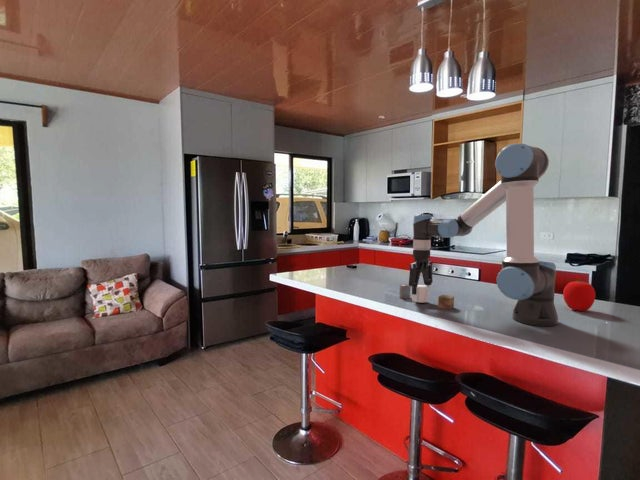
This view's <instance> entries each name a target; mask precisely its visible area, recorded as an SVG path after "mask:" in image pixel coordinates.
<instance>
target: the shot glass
mask: <svg viewBox="0 0 640 480" xmlns="http://www.w3.org/2000/svg"><path fill="white" fill-rule="evenodd" d="M417 287H419V291H418V302H417V303H427V302H428V301H429V299H428V292H429V293H430V285H429V286H428V285H423V284H421V283H420V284H419V283H418V286H417Z"/></svg>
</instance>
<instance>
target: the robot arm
mask: <svg viewBox="0 0 640 480" xmlns="http://www.w3.org/2000/svg"><path fill="white" fill-rule="evenodd" d="M549 163H550V161H549V156H548V155H547V153H546V152H545V151H544V150H543V149H541V148H539V147H536V146H532V145H529V144H526V143H511V144H508V145H506V146H504V147H503V148H502V149H501V150H500V151H499V152H498V154H497V156H496V158H495V162H494V166H495V169H496V170H495V171H496V172H497V173H498V174H499V175H500V181H498V182H497V183H496V184H495V185H494V186H492V187H491V188H490V189H489V190H488V191H486V192H485V193H484V194H483V195H481V196H480V198H478V199H477V200H476V201H475V202H473V204H471V205H470V206H469V207H468V208H466V209H465V210H464V211H463V212H462V213H461V214H459V215H458V216H457V217H456V218H443V219H442V218H436V219H435V218H432V215H431V214H426V213H425V214H419V213H418V214H415V215H414V216H413V223H412V227H413V229H412V230H413V231H412V232H413V234H412V235H413V238H412V239H413V240H412V249H413V250H412V258H414V261H413V263H409V274H408V275H409V277H408V285H409V286H411V295H412V296H411V301H412V302H415V303H419V302H418V291H419V287H417V286H418V284H419V282H420V281H419V280H420V276H421V275H422V279H423V284H422V285H428V286H429V287H430V286H432V283H433V261H429V259H430V258H431V250H430V249H431V247H432V245H431V244H432V243H431V242H432V238H431V237H436V238H437V237H438V238H446V239H447V238H454V237H464V236H468V235H470V233H472V231H473V228H474V227H476V225H478V224H479V223H480V222H481V221H484V219H486V217H488V216H489V215H490V214H492V212H494V211H496V209H498V208H499V207H501V206H502V205H503V204H505V206H506V207H505V211H506V212H505V215H506V217H505V219H506V220H505V225H506V227H505V229H506V233H505V234H506V240H505V241H506V255H505V257H504V258H503V259H502V260H501V269H500V271H499V272H498V273H497V276H496V285H497V288H498V289H499V292H501V294H503V295H504V296H505V297H506V298H508V299H511V300H515V301H516V300H517V301H516V303H515V305H514V308H513V310H512V317H511V318H512V319H513V320H514V321H517V322H519V323H521V324H526V325H530V326H539V327H555V326H557V325H559V316H558V312H557V309H556V305H555V303H554V302H555V289H556V277H557V276H556V274H557V269H556V268H557V266H556V264H555V263H554V262H552V261H551V262H550V261H544V260H542V261H541V260H539V259H538V258H537V257H536V256H535V233H534V232H535V219H534V218H535V217H534V216H535V214H534V212H535V211H534V210H535V208H534V206H535V205H534V204H535V203H534V196H535V194H534V191H535V190H534V187H536V185H537V184H538V183H539V181H540V180H539V179H540V178H542V176H543V175H544V174H545V173H546V172H547V170H548V168H549ZM429 293H430V291H429V292H428V300H429V298H430V294H429Z"/></svg>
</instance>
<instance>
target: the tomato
mask: <svg viewBox="0 0 640 480" xmlns="http://www.w3.org/2000/svg"><path fill="white" fill-rule="evenodd" d="M562 291H563V292H562V293H563V295H562V297H563V300H564V303H565V304H566V306H567V307H568V308H570V309H571V310H573V311H577V312H586V311H588V310H589V309H591V308H592V306H593V304H594V302H595V300H596V291H595V288H594V287H593V285H591V283H590V282H586V281H583V280H575V281H571V282H570V281H569V282H568V283H567V284H566V285H565V287H564V288H563V290H562Z"/></svg>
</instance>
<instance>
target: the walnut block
mask: <svg viewBox="0 0 640 480" xmlns="http://www.w3.org/2000/svg"><path fill="white" fill-rule="evenodd" d="M437 303H438V304H437V308H438V309H442V310H448V311H451V310H452V309H454V307H455V296H454V295H449V294H448V295H447V294H441V295H439V296H438V301H437Z"/></svg>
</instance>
